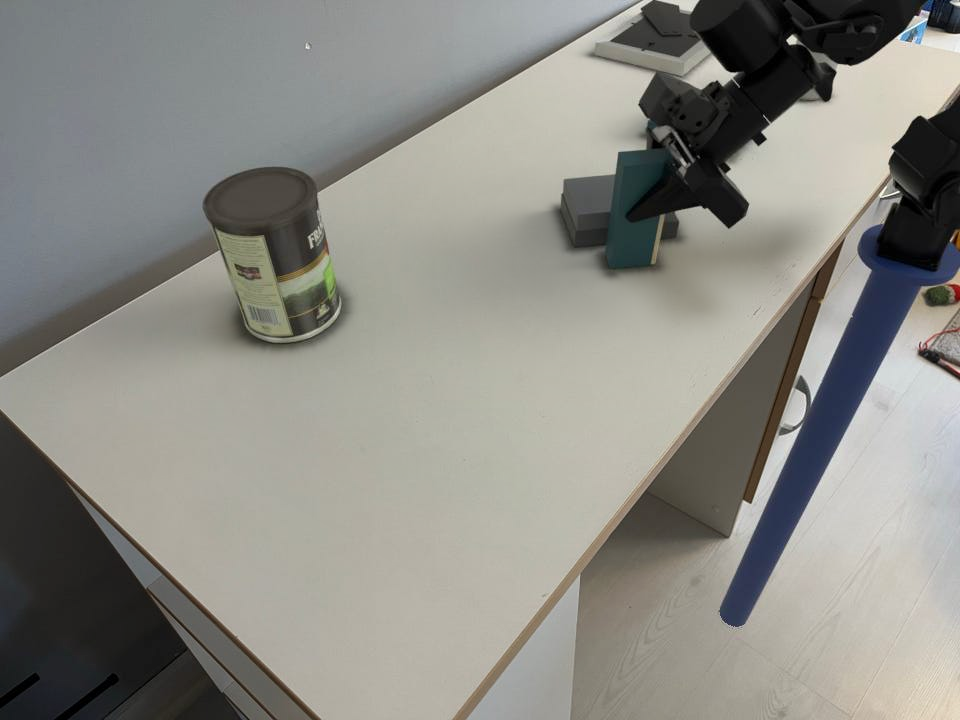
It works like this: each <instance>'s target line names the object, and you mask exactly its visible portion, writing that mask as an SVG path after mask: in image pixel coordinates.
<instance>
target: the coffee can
mask: <svg viewBox="0 0 960 720" xmlns="http://www.w3.org/2000/svg"><path fill="white" fill-rule="evenodd" d="M202 211H203V213H204V216H205V218H206V219H207V221H208V223H209V225H210V228H211V231H212V233H213V236H214V239H215V241H216V245H217V248H218V250H219V253H220V256H221V258H222V261H223V264H224V268H225V270H226V272H227V276H228V278H229V281H230V284H231V286H232V289H233V292H234V295H235V298H236V300H237V303H238V306H239V309H240V312H241V315H242V318H243V323H244V325H245V328H246V329H247V331H248V332H249V333H250V334H251V335H252V336H254V337H256V338H257V339H260V340H263V341H265V342H269V343H275V344H276V343H277V344H287V343H296V342H299V341H304V340H308V339H310V338H312V337H315V336H317V335H319V334H321V333H322V332H324V331H325V330H326V329H328V328H329V327H331V326H332V324H333V323H334V322H335V321H336V320H337V318H338V317H339V315H340V312H341V311H342V310H341V309H342V299H341V296H340V293H339V289H338V284H337V279H336V275H335V271H334V266H333V262H332V258H331V253H330V248H329V244H328V243H329V242H328V240H327V235H326V229H325V225H324V220H323V217H322V212H321V208H320V204H319V198H318V187H317V184H316V181H315V180H314V178H313V177H311V175H309V174H307V173H306V172H304V171H302V170H300V169H296V168H292V167H287V166H263V167H262V166H261V167H255V168H251V169H246V170H243V171H239V172H236V173H234V174H231V175H229V176H227V177H226V178H224V179H222V180H220V181H218V182H217V183H216V184H215V185H213V186H212V187H211V188H210V189H209V190H208V191H207V192H206V194H205V196H204V198H203V201H202Z"/></svg>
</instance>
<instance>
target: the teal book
mask: <svg viewBox="0 0 960 720" xmlns="http://www.w3.org/2000/svg"><path fill="white" fill-rule="evenodd" d="M616 159H617V160H616V167H615V172H614V174H615V181H614V189H613V196H612V204H611V212H610V219H609V227H608V235H607V242H606V244H605V251H604V255H605V258H606V261H607V264H608V267H609V269H610V270H612V269H624V268H625V269H627V268H637V267H649V266H655V265H656V261H657V257H658V251H659V248H660V247H659V246H660V242H661V239H660V237H661V232H662V227H663V222H664V217H665V214H663V215H659V216H656V217H652V218H648V219H645V220H641V221H638V222H634V223H630V222H629V221H628V220H627V219H626V217H625V215H626V214H627V213H628V212H629V210H630V209H631V208H632V207H633V206H634V205H635V204H636V203H637V202H638V201H639V200H640V199H641V198H642V197H643V196H644V195H645V194H646V193H647V192H648V191H649V190H650V189H651V188H652V187H653V186H654V185H655V184H656V183H657V182H658V181H659V180H660V179H661V177H662V173H663V169H664V164H665V160H666V159H668V160H669V161H670V162H671V163H672V164H673V165H674V166H675V162H674V160H673V158H672V156H671V154H670V152H669V150H668V148H661V149H648V150H646V149H636V150H624V151H623V150H622V151H618V153H617V158H616Z"/></svg>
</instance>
